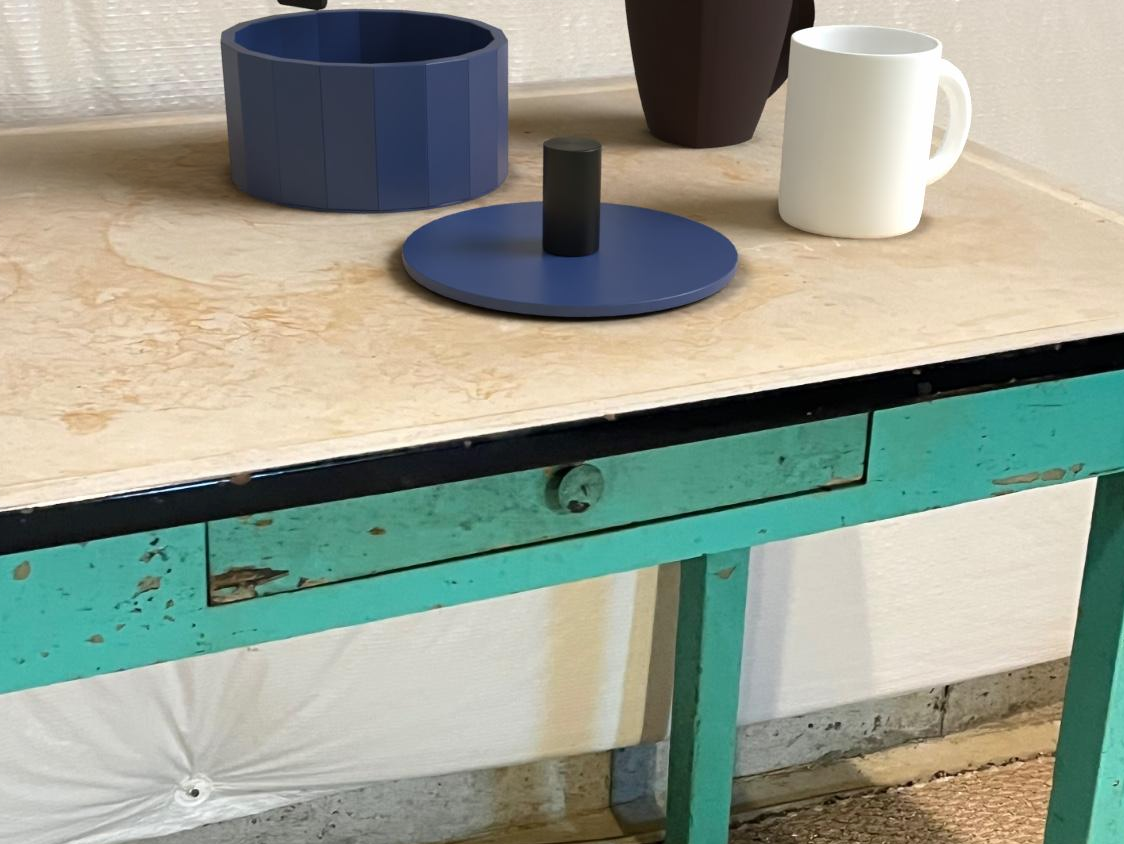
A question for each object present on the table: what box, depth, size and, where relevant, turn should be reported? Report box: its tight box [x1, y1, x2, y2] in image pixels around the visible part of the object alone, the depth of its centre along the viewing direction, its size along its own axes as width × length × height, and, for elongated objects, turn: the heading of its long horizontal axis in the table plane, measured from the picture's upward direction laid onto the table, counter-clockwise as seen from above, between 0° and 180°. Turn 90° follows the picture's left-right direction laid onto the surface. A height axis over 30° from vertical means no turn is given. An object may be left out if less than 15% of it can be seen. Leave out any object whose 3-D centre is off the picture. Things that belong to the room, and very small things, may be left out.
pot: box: [219, 8, 509, 215], centre depth 102 cm, size 17×17×8 cm
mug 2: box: [778, 24, 972, 240], centre depth 97 cm, size 12×8×10 cm
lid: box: [401, 135, 739, 318], centre depth 88 cm, size 18×18×7 cm
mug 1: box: [624, 0, 816, 150], centre depth 112 cm, size 10×14×12 cm
